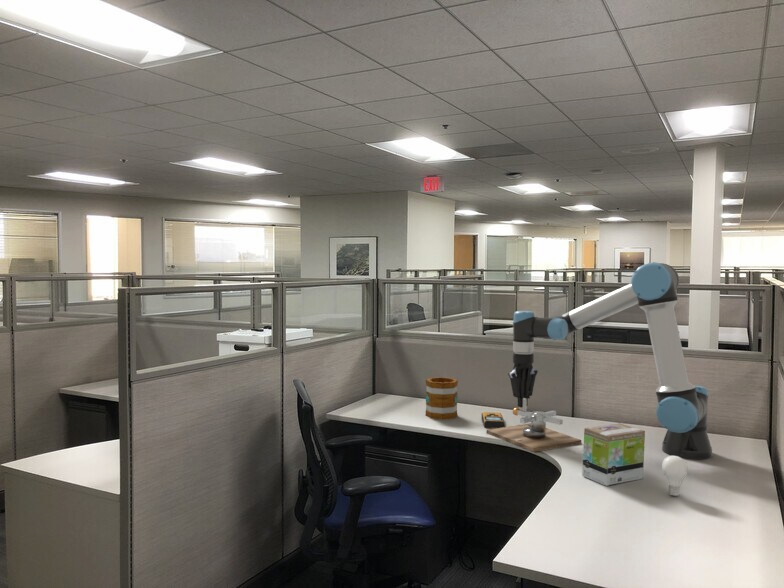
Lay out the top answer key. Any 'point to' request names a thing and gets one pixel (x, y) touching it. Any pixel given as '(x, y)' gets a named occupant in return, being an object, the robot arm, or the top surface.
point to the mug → (441, 398)
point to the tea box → (613, 454)
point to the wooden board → (533, 444)
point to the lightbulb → (674, 473)
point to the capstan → (536, 422)
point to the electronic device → (492, 420)
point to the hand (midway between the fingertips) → (522, 415)
